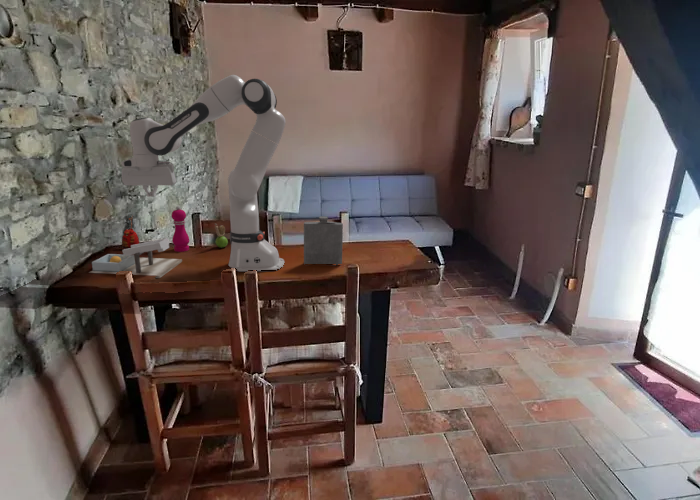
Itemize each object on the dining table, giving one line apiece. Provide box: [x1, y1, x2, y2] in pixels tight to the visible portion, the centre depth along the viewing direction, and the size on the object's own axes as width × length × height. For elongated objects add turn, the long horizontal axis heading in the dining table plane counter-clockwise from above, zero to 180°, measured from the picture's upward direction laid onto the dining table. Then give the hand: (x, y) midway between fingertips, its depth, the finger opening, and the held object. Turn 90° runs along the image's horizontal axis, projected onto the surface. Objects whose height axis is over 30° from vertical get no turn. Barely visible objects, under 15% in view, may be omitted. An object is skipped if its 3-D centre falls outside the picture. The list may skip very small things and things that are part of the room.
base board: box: [88, 251, 183, 279], centre depth 174 cm, size 27×20×8 cm
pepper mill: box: [171, 205, 190, 253], centre depth 197 cm, size 7×7×20 cm
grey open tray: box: [91, 253, 135, 272], centre depth 172 cm, size 11×11×4 cm
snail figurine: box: [214, 223, 229, 249], centre depth 203 cm, size 5×6×12 cm
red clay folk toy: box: [121, 214, 140, 250], centre depth 197 cm, size 8×7×15 cm
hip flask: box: [303, 215, 344, 266], centre depth 184 cm, size 16×4×20 cm, turn 90°
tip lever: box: [121, 237, 170, 256], centre depth 174 cm, size 16×17×4 cm
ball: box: [110, 256, 121, 263], centre depth 172 cm, size 4×4×4 cm
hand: (151, 196), depth 177 cm, fingers closed
